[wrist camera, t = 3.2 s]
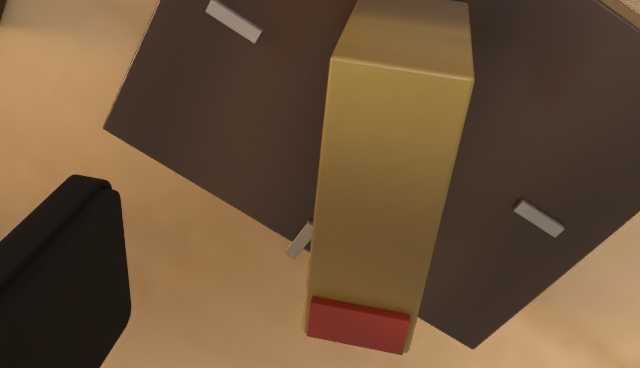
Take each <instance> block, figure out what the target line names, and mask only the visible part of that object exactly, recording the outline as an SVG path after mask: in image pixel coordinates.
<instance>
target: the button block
mask: <svg viewBox="0 0 640 368" xmlns="http://www.w3.org/2000/svg"><path fill="white" fill-rule="evenodd" d="M5 1H6V0H0V18H1V15H2V11H3V8H4V4H5Z"/></svg>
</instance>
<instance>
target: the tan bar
mask: <svg viewBox="0 0 640 368" xmlns="http://www.w3.org/2000/svg"><path fill="white" fill-rule="evenodd" d="M474 82H475V78H474V66H473V54H472V43H471V31H470V19H469V8H468V4H467V3H466V2H459V1H452V0H357V3H356V5H355V7H354V9H353V11H352V13H351V15H350V17H349V20H348V22H347V24H346V26H345V28H344V30H343V32H342V34H341V36H340V39H339V41H338V43H337V45H336V47H335V49H334V51H333V53H332V56H331V58H330V64H329V73H328V83H327V93H326V102H325V112H324V122H323V131H322V141H321V151H320V160H319V170H318V180H317V189H316V199H315V208H314V218H313V228H312V237H311V247H310V257H309V266H308V276H307V286H306V295H305V305H304V315H303V324H302V330H303V332H304V333H307V336H309V337H314V338H319V339H324V340H329V341H334V342H339V343H344V344H349V345H354V346H359V347H364V348H369V349H374V350H379V351H384V352H389V353H394V354H399V355H402V354H403V353H407V352H408V351H409V349H410V345H411V341H412V337H413V333H414V329H415V325H416V320H417V316H418V312H419V308H420V304H421V300H422V296H423V292H424V288H425V283H426V279H427V275H428V271H429V267H430V263H431V259H432V255H433V251H434V246H435V242H436V238H437V234H438V230H439V226H440V222H441V218H442V213H443V209H444V205H445V201H446V197H447V193H448V189H449V185H450V181H451V176H452V172H453V168H454V164H455V160H456V156H457V152H458V148H459V144H460V139H461V135H462V131H463V127H464V123H465V119H466V115H467V111H468V106H469V102H470V98H471V94H472V90H473V86H474Z"/></svg>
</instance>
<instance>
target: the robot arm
mask: <svg viewBox="0 0 640 368" xmlns="http://www.w3.org/2000/svg"><path fill="white" fill-rule="evenodd" d="M130 314H131V298H130V288H129V278H128V268H127V258H126V248H125V238H124V228H123V218H122V208H121V199H120V194H119V193H118V192H117V191H116V190H112V187H111V184H110V183H109V182H108V181H107V180H103V179H98V178H92V177H87V176H82V175H72V176H70V177H69V178H68V179H66V180H65V181H64V182H63V183H62V184H61V185H60V186H59V187H58V188H57V189H56V190H55V191H54V192H53V193H52V194H51V195H49V196H48V197H47V198H46V199H45V200H44V201H43V202H42V203H41V204H40V205H39V206H38V207H37V208H36V209H35V210H34V211H33V212H31V213H30V214H29V215H28V216H27V217H26V218H25V219H24V220H23V221H22V222H21V223H20V224H19V225H18V226H17V227H16V228H14V229H13V230H12V231H11V232H10V233H9V234H8V235H7V236H6V237H5V238H4V239H3V240H2V241H1V242H0V368H100V366H101V365H102V363H103V362H104V360H105V359H106V357H107V355H108V354H109V352H110V351H111V349H112V348H113V346H114V345H115V343H116V341H117V340H118V338H119V337H120V335H121V334H122V332H123V331H124V329H125V327H126V326H127V324H128V321H129V318H130Z"/></svg>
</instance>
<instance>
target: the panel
mask: <svg viewBox="0 0 640 368" xmlns="http://www.w3.org/2000/svg"><path fill="white" fill-rule="evenodd" d="M452 1H459V2H466V3H467V4H468V8H469V19H470V31H471V43H472V54H473V66H474V78H475V82H474V86H473V90H472V94H471V98H470V102H469V106H468V111H467V115H466V119H465V123H464V127H463V131H462V135H461V139H460V144H459V148H458V152H457V156H456V160H455V164H454V168H453V172H452V176H451V181H450V185H449V189H448V193H447V197H446V201H445V205H444V209H443V213H442V218H441V222H440V226H439V230H438V234H437V238H436V242H435V246H434V251H433V255H432V259H431V263H430V267H429V271H428V275H427V279H426V283H425V288H424V292H423V296H422V300H421V304H420V308H419V312H418V316H417V317H419V318H420V319H422V320H424V321H425V322H427V323H429V324H430V325H432V326H434V327H435V328H437V329H439V330H440V331H442V332H444V333H446V334H447V335H449V336H451V337H452V338H454V339H456V340H457V341H459V342H461V343H462V344H464V345H466V346H467V347H469V348H471V349H475V348H476V347H477V346H478V345H480V344H481V343H482V342H483V341H484V340H486V339H487V338H488V337H489V336H490V335H492V334H493V333H494V332H495V331H496V330H498V329H499V328H500V327H501V326H502V325H504V324H505V323H506V322H507V321H508V320H510V319H511V318H512V317H513V316H514V315H516V314H517V313H518V312H519V311H520V310H522V309H523V308H524V307H525V306H526V305H528V304H529V303H530V302H531V301H532V300H534V299H535V298H536V297H537V296H538V295H540V294H541V293H542V292H543V291H544V290H546V289H547V288H548V287H549V286H550V285H552V284H553V283H554V282H555V281H556V280H558V279H559V278H560V277H561V276H562V275H564V274H565V273H566V272H567V271H568V270H570V269H571V268H572V267H573V266H575V265H576V264H577V263H578V262H579V261H581V260H582V259H583V258H584V257H585V256H587V255H588V254H589V253H590V252H591V251H593V250H594V249H595V248H596V247H597V246H599V245H600V244H601V243H602V242H603V241H605V240H606V239H607V238H608V237H609V236H611V235H612V234H613V233H614V232H615V231H617V230H618V229H619V228H620V227H621V226H623V225H624V224H625V223H626V222H627V221H629V220H630V219H631V218H632V217H633V216H635V215H636V214H637V213H638V212H639V211H640V15H639V14H637V13H636V12H635V11H633V10H632V9H630V8H629V7H628V6H626V5H625V4H624V3H622V2H621V1H619V0H452ZM356 3H357V0H159V1H158V3H157V5H156V8H155V10H154V12H153V14H152V17H151V19H150V21H149V23H148V26H147V28H146V30H145V32H144V35H143V37H142V39H141V41H140V44H139V46H138V48H137V50H136V53H135V55H134V57H133V59H132V62H131V64H130V66H129V69H128V71H127V73H126V75H125V78H124V80H123V82H122V84H121V87H120V89H119V91H118V93H117V96H116V98H115V100H114V102H113V105H112V107H111V109H110V111H109V114H108V116H107V118H106V120H105V123H104V125H103V129H104V130H106V131H108V132H109V133H111V134H113V135H114V136H116V137H118V138H119V139H121V140H123V141H124V142H126V143H128V144H129V145H131V146H133V147H134V148H136V149H138V150H139V151H141V152H143V153H144V154H146V155H148V156H149V157H151V158H153V159H154V160H156V161H158V162H159V163H161V164H163V165H165V166H166V167H168V168H170V169H171V170H173V171H175V172H176V173H178V174H180V175H181V176H183V177H185V178H186V179H188V180H190V181H191V182H193V183H195V184H196V185H198V186H200V187H201V188H203V189H205V190H206V191H208V192H210V193H211V194H213V195H215V196H216V197H218V198H220V199H221V200H223V201H225V202H226V203H228V204H230V205H231V206H233V207H235V208H236V209H238V210H240V211H241V212H243V213H245V214H246V215H248V216H250V217H251V218H253V219H255V220H256V221H258V222H260V223H262V224H263V225H265V226H267V227H268V228H270V229H272V230H273V231H275V232H277V233H278V234H280V235H282V236H283V237H285V238H287V239H288V240H290V241H292V243H291V244H290V245H289V247H288V248H287V249H286V251H285V253H286V254H287V255H289V256H291V257H292V258H294V259H295V258H296V257H297V256H298V255H299V253H300V252H301V251H302V250H303V249H305V250H307V251H308V252H310V247H311V237H312V228H313V218H314V208H315V199H316V189H317V180H318V170H319V160H320V151H321V141H322V131H323V122H324V112H325V102H326V93H327V83H328V73H329V64H330V58H331V56H332V53H333V51H334V49H335V47H336V45H337V43H338V41H339V39H340V36H341V34H342V32H343V30H344V28H345V26H346V24H347V22H348V20H349V17H350V15H351V13H352V11H353V9H354V7H355V5H356Z"/></svg>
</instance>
